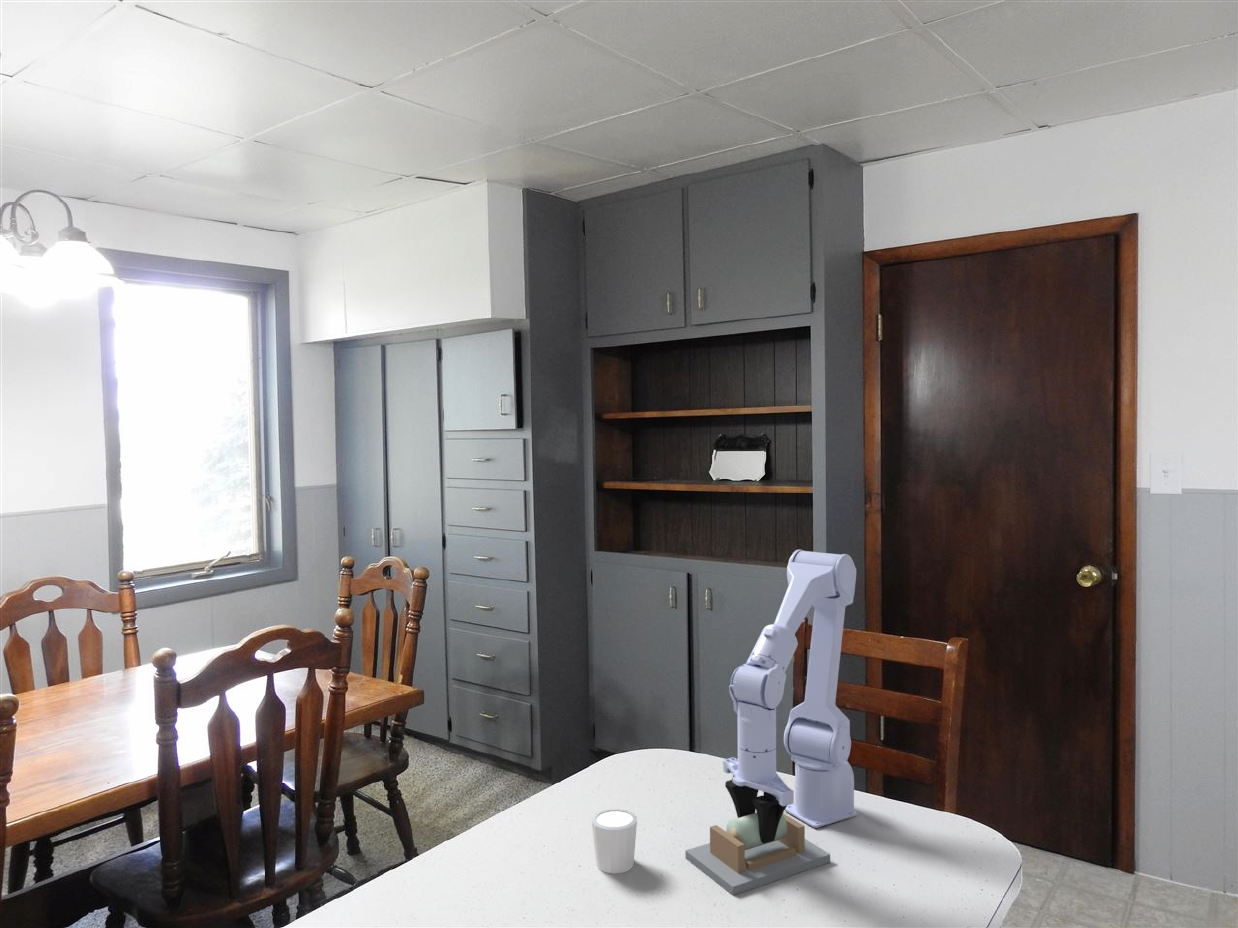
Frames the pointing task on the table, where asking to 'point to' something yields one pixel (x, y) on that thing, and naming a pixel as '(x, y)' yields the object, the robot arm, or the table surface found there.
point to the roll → (752, 830)
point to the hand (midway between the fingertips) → (757, 834)
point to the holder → (755, 858)
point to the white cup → (614, 840)
